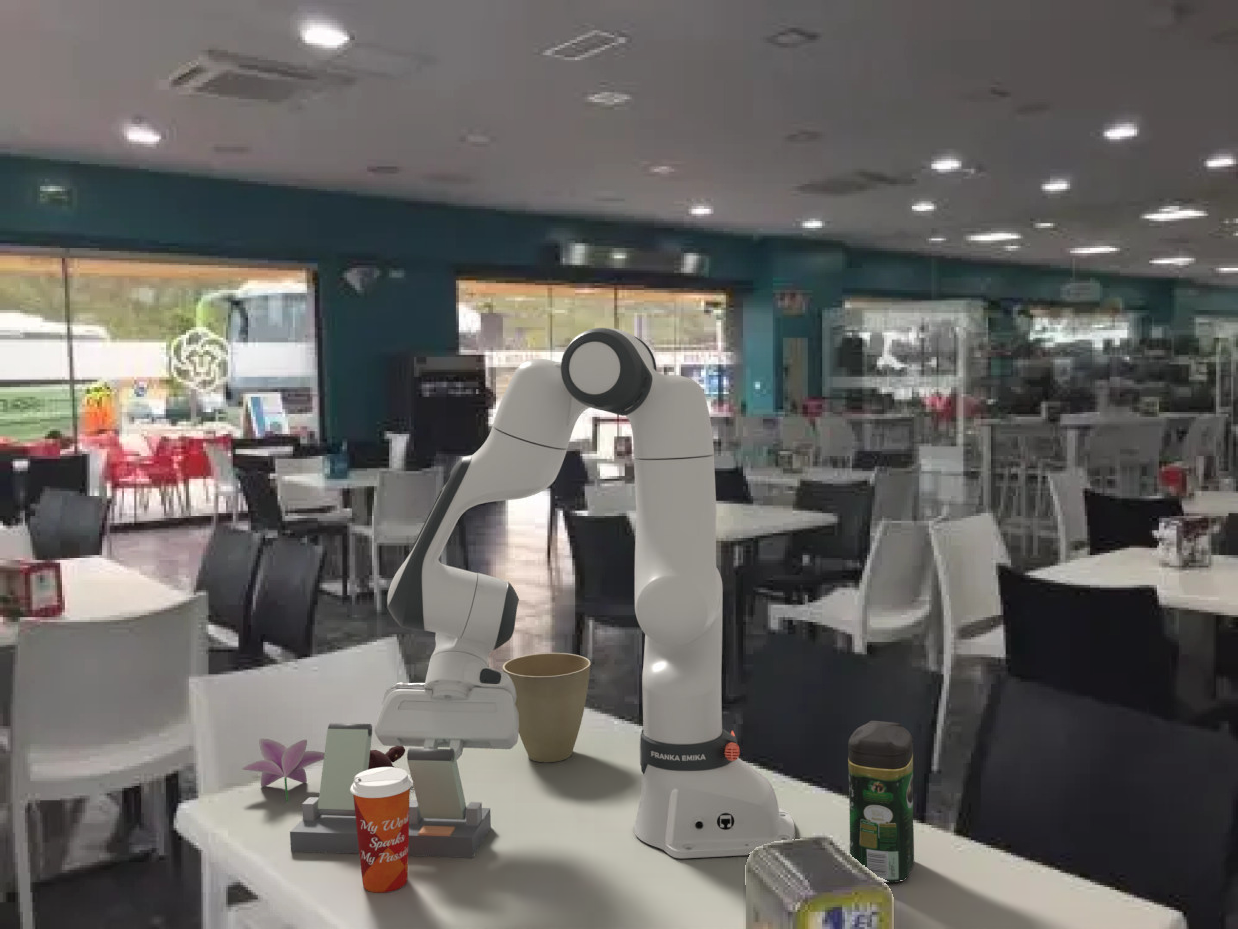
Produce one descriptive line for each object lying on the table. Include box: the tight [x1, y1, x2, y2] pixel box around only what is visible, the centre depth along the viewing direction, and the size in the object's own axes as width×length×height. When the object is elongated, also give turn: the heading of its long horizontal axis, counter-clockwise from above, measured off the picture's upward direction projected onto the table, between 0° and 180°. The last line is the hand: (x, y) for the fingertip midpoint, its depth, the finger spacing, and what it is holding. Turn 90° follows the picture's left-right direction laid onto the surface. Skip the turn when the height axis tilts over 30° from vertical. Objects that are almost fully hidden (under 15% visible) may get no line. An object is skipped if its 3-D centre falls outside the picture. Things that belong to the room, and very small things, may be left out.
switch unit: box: [289, 796, 492, 859], centre depth 150 cm, size 26×10×5 cm, turn 83°
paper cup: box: [350, 766, 413, 894], centre depth 137 cm, size 8×8×14 cm
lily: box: [242, 738, 325, 803], centre depth 168 cm, size 12×12×10 cm
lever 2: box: [406, 747, 467, 820], centre depth 146 cm, size 6×2×13 cm, turn 83°
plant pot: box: [502, 652, 591, 763], centre depth 182 cm, size 15×15×16 cm
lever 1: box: [318, 722, 373, 816], centre depth 153 cm, size 6×2×13 cm, turn 83°
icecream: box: [368, 746, 406, 770], centre depth 168 cm, size 7×7×15 cm
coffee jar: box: [847, 720, 915, 883], centre depth 137 cm, size 10×8×19 cm
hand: (438, 774), depth 147 cm, fingers closed
